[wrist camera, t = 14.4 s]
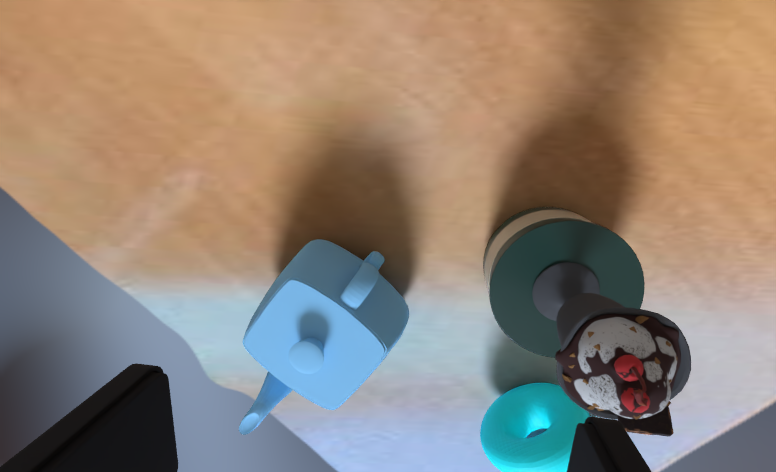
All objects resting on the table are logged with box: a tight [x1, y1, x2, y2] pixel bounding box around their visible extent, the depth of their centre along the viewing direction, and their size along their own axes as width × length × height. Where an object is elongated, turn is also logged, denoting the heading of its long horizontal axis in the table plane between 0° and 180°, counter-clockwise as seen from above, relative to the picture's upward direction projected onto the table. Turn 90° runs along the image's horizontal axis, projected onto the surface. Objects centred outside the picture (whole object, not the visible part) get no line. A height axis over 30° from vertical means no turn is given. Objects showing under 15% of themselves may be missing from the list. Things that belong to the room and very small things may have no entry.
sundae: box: [532, 262, 691, 436], centre depth 24 cm, size 7×7×15 cm
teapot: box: [239, 239, 409, 435], centre depth 36 cm, size 12×18×12 cm
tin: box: [483, 207, 644, 358], centre depth 34 cm, size 11×11×7 cm
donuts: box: [480, 383, 590, 472], centre depth 37 cm, size 10×10×10 cm
